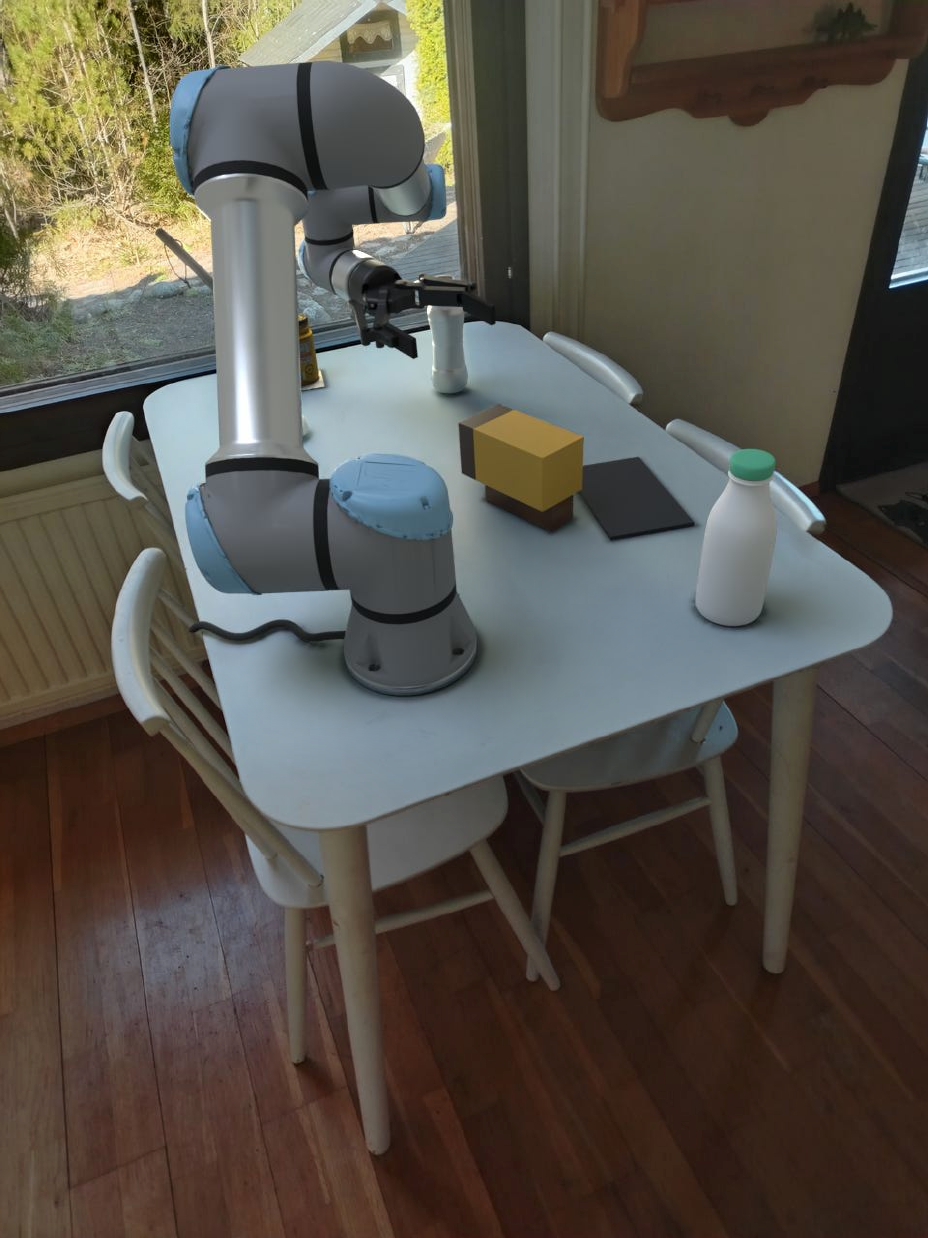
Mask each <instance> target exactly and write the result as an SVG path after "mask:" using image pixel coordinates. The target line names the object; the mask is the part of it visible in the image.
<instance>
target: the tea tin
mask: <svg viewBox="0 0 928 1238" xmlns="http://www.w3.org/2000/svg"><path fill="white" fill-rule="evenodd" d="M457 423H458V437H459V439H458V440H459V453H460V455H459V456H460V466H461V467H460V468H461V469H460V470H461V471H460V472H461V474H462V475H464V476H466V477H468V478H470V479H472V480H474V481H477V482H479V483H481V484H483V485H484V486H485V485H487V486H489V487H491V488H493V489H495V490H497V491H500V492H502V493H504V494H506V495H508V496H510V497H512V498H514V499H516V500H519V501H521V502H523V503H525V504H527V505H529V506H531V507H533V508H535V509H537V510H540V511H542V512H543V511H545V510H547V509H549V508H550V507H552V506H554V505H556V504H557V503H559V502H561V501H563V500H564V499H566V498H568V497H570V496H571V495H575V494H577V493H578V491H580V490H582V474H583V466H584V441H585V439H584V438H585V437H584V436H583V435H580V434H578V433H576V432H573V431H570V430H567V429H565V428H563V427H560V426H557V425H555V424H553V423H549V422H547V421H545V420H542V419H539V418H536V417H534V416H532V415H529V414H526V413H524V412H521V411H518V410H516V409H513V408H510V407H508V406H506V405H502V404H500V403H498V404H495V405H494V406H491V407H489V408H487V409H485V410H482V411H481V412H478V413H476V414H474V415H472V416H470V417H467V418H464V419H463V420H461V421H458V422H457Z"/></svg>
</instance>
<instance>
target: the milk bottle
mask: <svg viewBox="0 0 928 1238" xmlns="http://www.w3.org/2000/svg"><path fill="white" fill-rule="evenodd" d="M728 465H729V466H728V470H727V471H728V472H727V476H728V477H729V480H728V483H727V484H726V486H725V488H724V490H723V492H722V493H721V495H720V496H719V497H718V499H717V500H716V502H715V503H714V504H713V506H712V508H711V510H710V512H709V514H708V517H707V521H706V525H705V530H704V535H703V541H702V548H701V555H700V564H699V567H698V568H699V569H698V574H697V575H698V576H697V583H696V592H695V600H694V603H695V607H696V609H697V611H698V613H699V614H700V615H701V616H702V617H703V618H705V620H708V621H709V622H712V623H713V624H714V623H715V624H717V625H721V626H727V627H739V626H745V625H748V624H750V623H752V622H754V621H755V620H756V619H757V618H758V617H759V616H760V615H761V613H762V610H763V606H764V602H765V598H766V593H767V588H768V583H769V577H770V572H771V568H772V562H773V556H774V553H775V546H776V541H777V540H776V539H777V534H778V533H777V532H778V516H777V512H776V509H775V505H774V502H773V500H772V496H771V490H770V488H771V487H770V483H771V482H772V481H773V479H774V473H775V469H776V458H775V457H774V455H772V454H771V453H770V452H768V451H765V450H762V449H756V448H743V449H739V450H736V451H735V452H733V453H732V455H731V456H730V458H729V463H728Z"/></svg>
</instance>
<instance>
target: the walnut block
mask: <svg viewBox="0 0 928 1238" xmlns="http://www.w3.org/2000/svg"><path fill="white" fill-rule="evenodd" d="M484 489H485V492H484V493H485V501H487V502H488V503H491V504H493V505H495V506H497V507H499V508H500V509H503V510H505V511H507V512H510V513H512V514H513V515H515V516H517V517H520V518H522V519H523V520H525V521H527V522H530V523H532V524H534V525H536V526H538V527H540V528H542V529H544V530H546V531H548V532H550V533H552V532H554V531H555V530H557V529H559V528H561V527H563V526H564V525H566V524H567V523H570V522H572V521H573V520H574V498H575V497H574V495H575V494H573V495H571V496H570V497H568V498H566V499H564V500H563V501H561V502H559V503H557V504H556V505H554V506H552V507H550V508H549V509H547V510H545V511H543V512H542V511H540V510H537V509H535V508H533V507H531V506H529V505H527V504H525V503H523V502H521V501H519V500H516V499H514V498H512V497H510V496H508V495H506V494H504V493H502V492H500V491H497V490H495V489H493V488H491V487H489V486H487V485H485V484H484Z"/></svg>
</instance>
